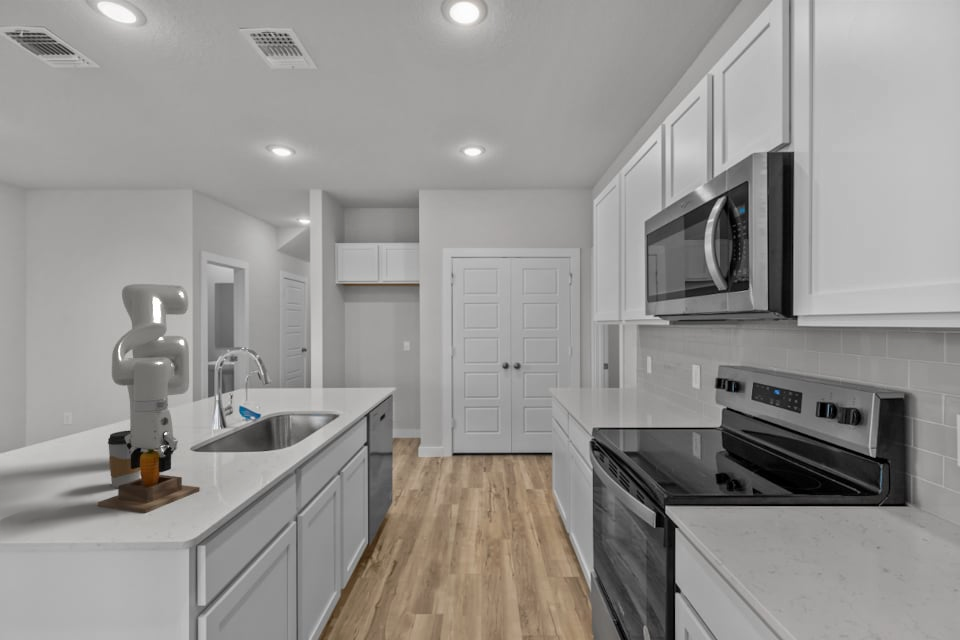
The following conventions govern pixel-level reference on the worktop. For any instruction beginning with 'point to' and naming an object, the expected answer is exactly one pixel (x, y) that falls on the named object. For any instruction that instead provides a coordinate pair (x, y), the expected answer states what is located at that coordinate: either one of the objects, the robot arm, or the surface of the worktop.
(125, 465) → the coffee cup
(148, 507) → the walnut stand
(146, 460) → the carrot
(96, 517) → the worktop surface
